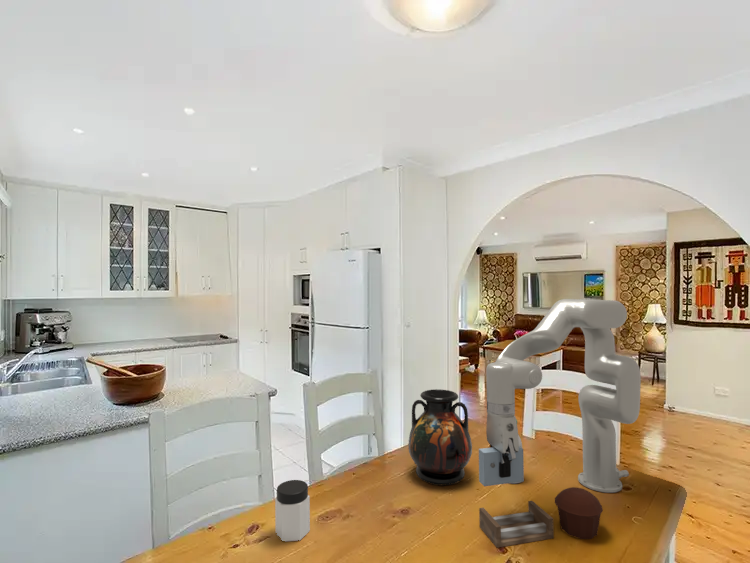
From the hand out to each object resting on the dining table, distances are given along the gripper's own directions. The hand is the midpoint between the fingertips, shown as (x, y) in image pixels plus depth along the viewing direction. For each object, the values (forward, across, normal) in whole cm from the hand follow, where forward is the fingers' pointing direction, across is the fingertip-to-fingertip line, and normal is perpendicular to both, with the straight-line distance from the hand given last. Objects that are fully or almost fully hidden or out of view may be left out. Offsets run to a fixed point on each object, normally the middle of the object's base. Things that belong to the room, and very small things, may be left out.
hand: (501, 473), depth 114 cm
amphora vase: (+13, +28, +7) cm, 32 cm away
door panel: (+2, 0, 0) cm, 2 cm away
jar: (+13, +7, +57) cm, 59 cm away
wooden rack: (+12, -7, 0) cm, 14 cm away
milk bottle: (+13, +20, -15) cm, 28 cm away
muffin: (+13, -9, -17) cm, 23 cm away
